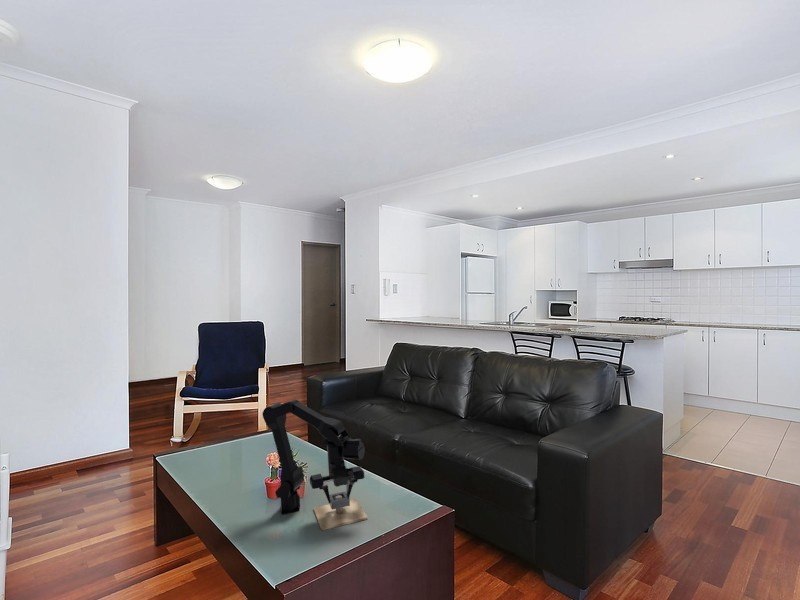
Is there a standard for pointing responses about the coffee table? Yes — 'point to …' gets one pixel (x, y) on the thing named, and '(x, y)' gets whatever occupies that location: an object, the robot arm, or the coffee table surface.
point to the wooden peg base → (339, 514)
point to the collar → (339, 500)
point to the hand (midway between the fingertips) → (338, 500)
